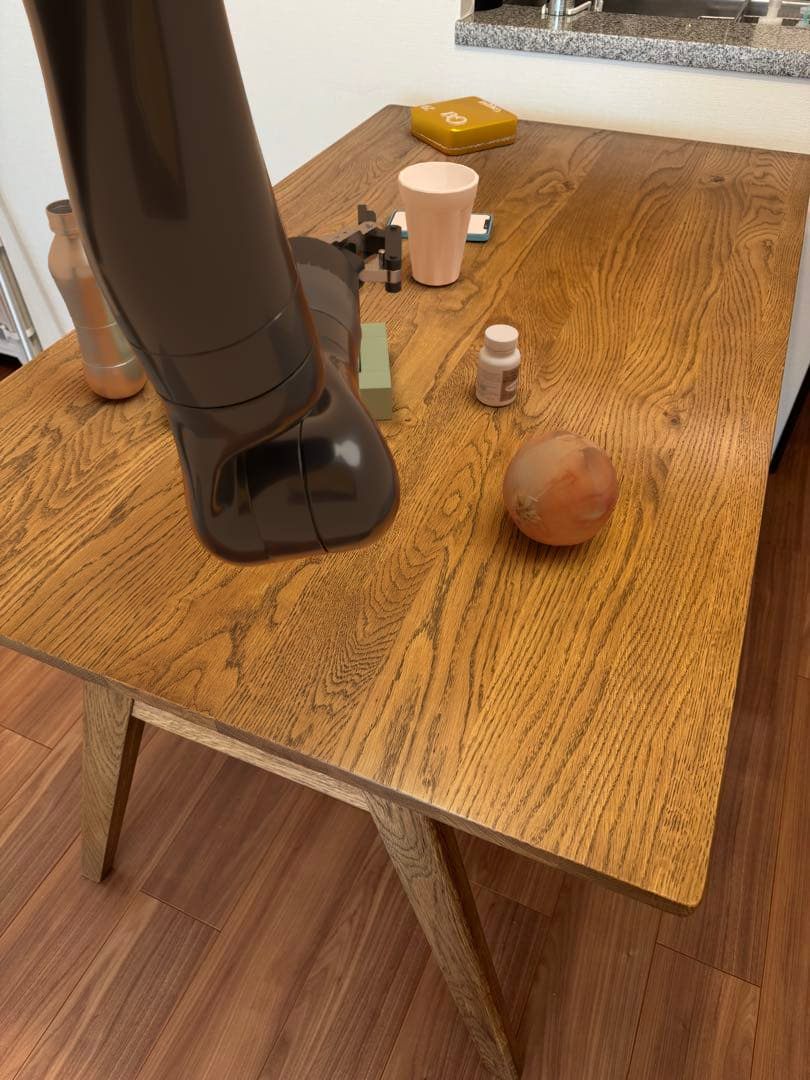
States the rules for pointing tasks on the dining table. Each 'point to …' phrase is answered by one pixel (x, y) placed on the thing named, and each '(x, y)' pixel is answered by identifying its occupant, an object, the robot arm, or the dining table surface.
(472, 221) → the smartphone
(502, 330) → the pill bottle
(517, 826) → the dining table surface
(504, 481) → the onion
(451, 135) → the element tile
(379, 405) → the holder
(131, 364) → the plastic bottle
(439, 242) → the cup
